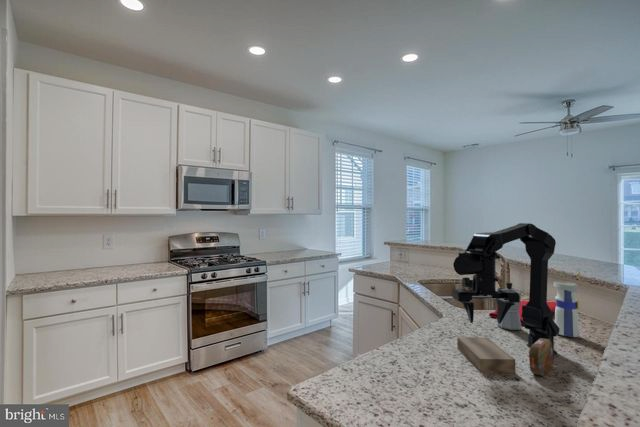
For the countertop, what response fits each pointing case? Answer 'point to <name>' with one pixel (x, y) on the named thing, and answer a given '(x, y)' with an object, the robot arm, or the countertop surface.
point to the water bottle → (567, 308)
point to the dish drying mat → (551, 304)
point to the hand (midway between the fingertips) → (485, 322)
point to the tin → (541, 356)
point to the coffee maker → (511, 313)
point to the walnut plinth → (486, 355)
